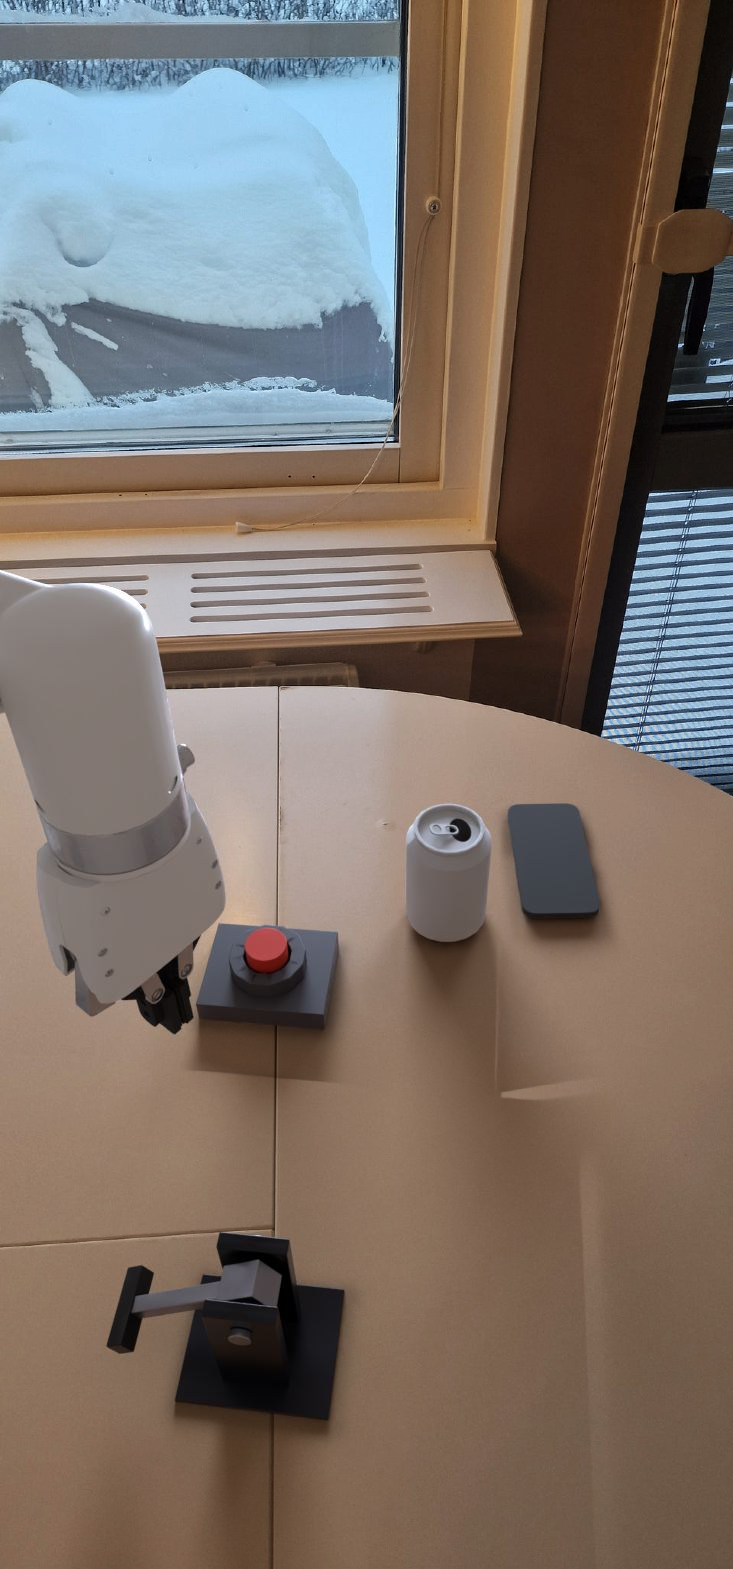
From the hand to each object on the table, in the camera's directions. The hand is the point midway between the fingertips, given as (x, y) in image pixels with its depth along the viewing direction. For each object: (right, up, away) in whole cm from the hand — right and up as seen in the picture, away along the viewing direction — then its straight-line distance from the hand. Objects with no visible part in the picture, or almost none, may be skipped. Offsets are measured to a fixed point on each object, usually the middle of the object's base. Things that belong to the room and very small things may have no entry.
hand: (168, 1014), depth 67 cm
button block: (+4, -3, +25) cm, 26 cm away
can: (+20, +2, +30) cm, 37 cm away
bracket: (+6, -23, +3) cm, 24 cm away
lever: (+3, -18, -1) cm, 18 cm away
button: (+4, 0, +23) cm, 23 cm away
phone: (+31, +7, +35) cm, 48 cm away
